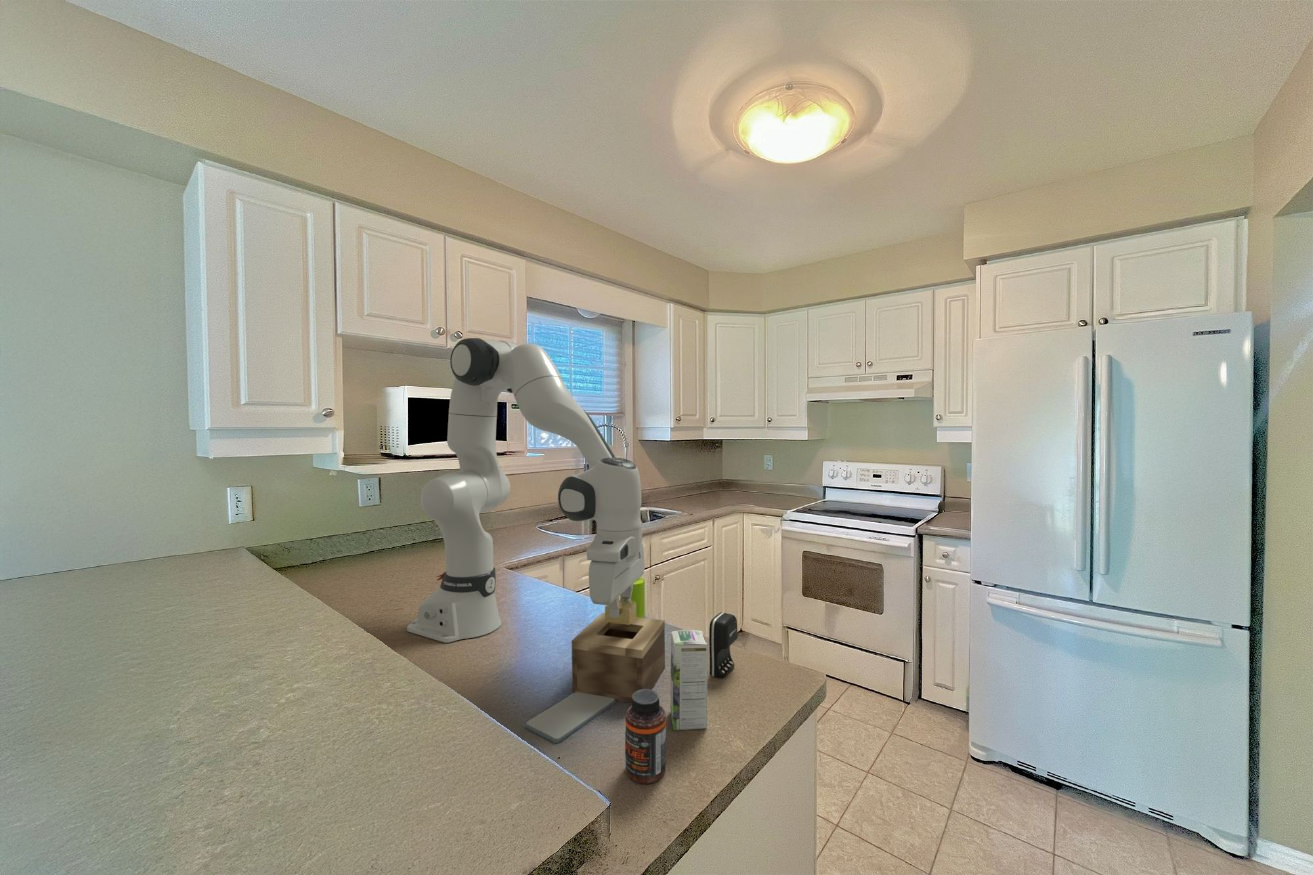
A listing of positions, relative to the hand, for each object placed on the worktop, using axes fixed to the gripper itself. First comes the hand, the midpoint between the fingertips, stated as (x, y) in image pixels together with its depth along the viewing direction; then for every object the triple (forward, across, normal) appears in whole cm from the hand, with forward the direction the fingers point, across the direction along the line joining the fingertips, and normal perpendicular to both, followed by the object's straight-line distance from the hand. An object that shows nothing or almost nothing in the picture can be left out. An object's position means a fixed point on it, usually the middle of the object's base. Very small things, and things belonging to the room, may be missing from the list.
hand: (620, 611), depth 99 cm
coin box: (+14, 0, 0) cm, 14 cm away
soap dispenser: (+14, -21, -5) cm, 26 cm away
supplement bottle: (+14, +23, +13) cm, 30 cm away
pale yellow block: (+2, 0, 0) cm, 2 cm away
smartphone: (+14, +13, -4) cm, 20 cm away
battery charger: (+14, -9, +19) cm, 25 cm away
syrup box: (+14, +9, +16) cm, 23 cm away
